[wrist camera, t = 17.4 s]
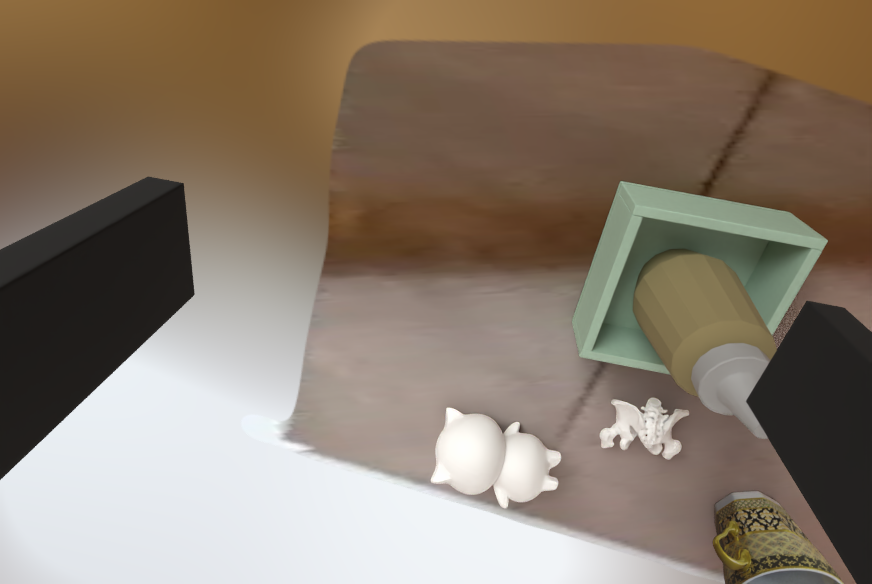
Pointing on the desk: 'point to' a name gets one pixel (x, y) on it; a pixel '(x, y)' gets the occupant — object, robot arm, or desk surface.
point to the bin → (697, 231)
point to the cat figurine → (492, 459)
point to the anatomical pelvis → (644, 427)
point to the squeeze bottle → (704, 330)
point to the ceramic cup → (765, 544)
